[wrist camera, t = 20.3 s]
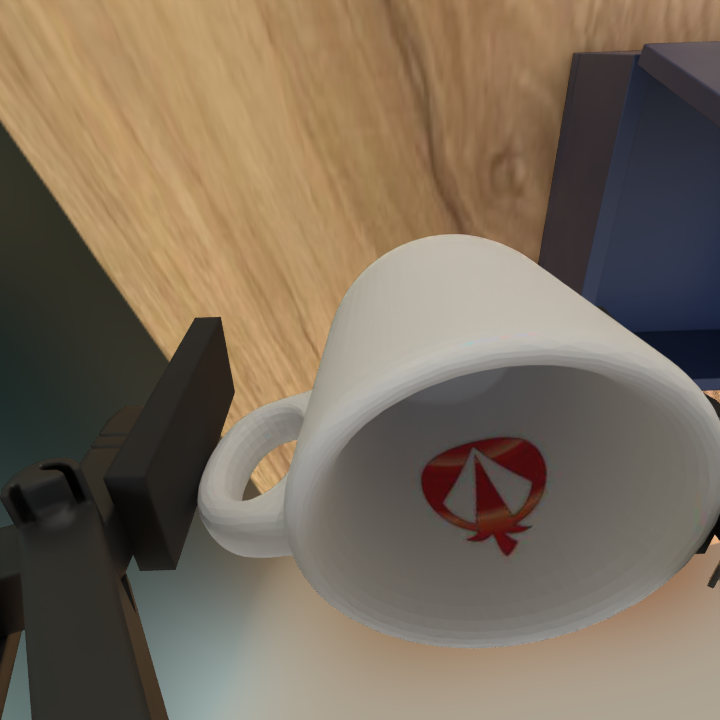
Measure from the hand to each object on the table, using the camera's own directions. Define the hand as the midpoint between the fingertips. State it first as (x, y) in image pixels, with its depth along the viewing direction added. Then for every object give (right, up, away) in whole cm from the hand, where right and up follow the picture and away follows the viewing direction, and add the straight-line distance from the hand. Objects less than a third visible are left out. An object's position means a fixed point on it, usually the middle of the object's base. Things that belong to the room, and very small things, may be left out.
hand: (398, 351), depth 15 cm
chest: (+18, +9, +16) cm, 26 cm away
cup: (0, +1, +1) cm, 1 cm away
